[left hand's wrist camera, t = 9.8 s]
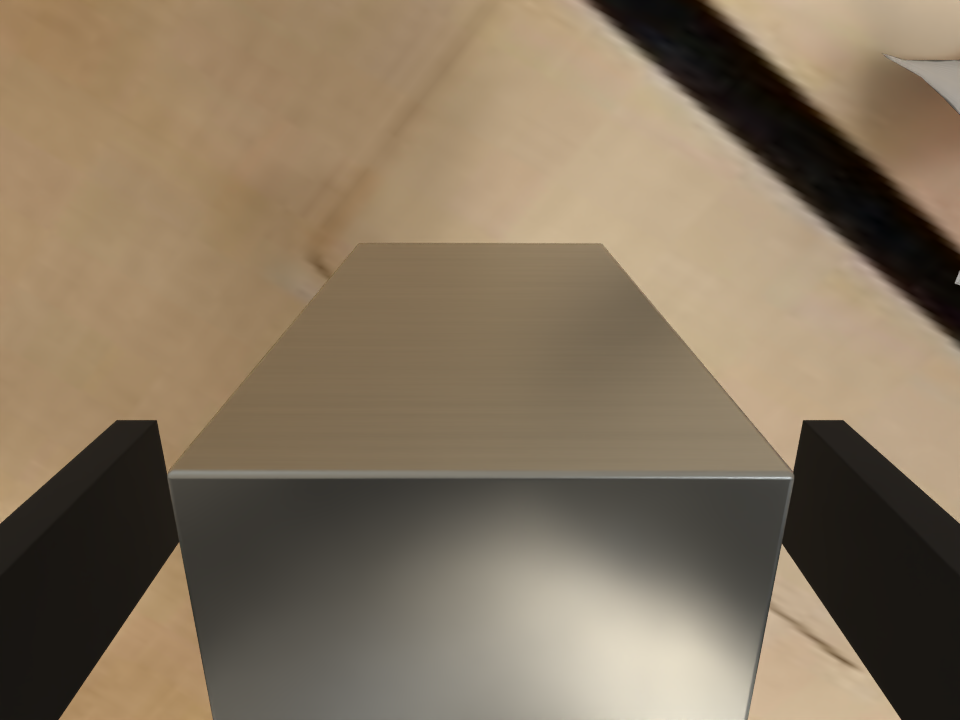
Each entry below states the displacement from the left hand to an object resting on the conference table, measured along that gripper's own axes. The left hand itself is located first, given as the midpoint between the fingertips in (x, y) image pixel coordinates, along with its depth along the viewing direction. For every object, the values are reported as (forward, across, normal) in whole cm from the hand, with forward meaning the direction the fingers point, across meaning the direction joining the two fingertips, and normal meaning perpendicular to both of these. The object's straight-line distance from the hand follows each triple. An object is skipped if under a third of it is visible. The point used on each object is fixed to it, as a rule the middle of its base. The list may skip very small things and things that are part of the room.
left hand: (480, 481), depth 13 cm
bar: (+2, 0, -8) cm, 8 cm away
